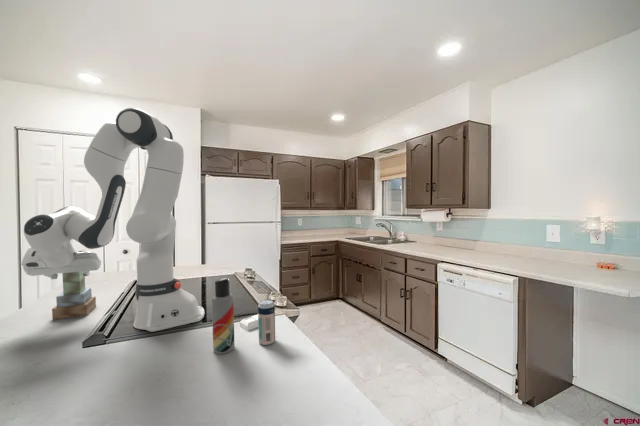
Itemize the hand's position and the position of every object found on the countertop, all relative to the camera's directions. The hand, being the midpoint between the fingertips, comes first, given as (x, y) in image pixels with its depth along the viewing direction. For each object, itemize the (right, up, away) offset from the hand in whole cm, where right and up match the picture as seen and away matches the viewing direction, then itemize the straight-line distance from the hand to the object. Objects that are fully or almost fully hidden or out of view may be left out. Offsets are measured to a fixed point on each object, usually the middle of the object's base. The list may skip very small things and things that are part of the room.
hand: (71, 276), depth 106 cm
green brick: (-1, -7, +3) cm, 7 cm away
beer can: (+77, -15, -22) cm, 81 cm away
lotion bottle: (+65, -15, -26) cm, 72 cm away
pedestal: (-1, -15, +3) cm, 15 cm away
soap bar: (+70, -15, -9) cm, 73 cm away
